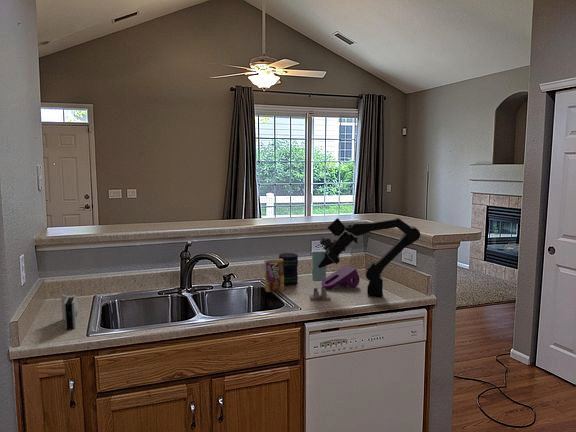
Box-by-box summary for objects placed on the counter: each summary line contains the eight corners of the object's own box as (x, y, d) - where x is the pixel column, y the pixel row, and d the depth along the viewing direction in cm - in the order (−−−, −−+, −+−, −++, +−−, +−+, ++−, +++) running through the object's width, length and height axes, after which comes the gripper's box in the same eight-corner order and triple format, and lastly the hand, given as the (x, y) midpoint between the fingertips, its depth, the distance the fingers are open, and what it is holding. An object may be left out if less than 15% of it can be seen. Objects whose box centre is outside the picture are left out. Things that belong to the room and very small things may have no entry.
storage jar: (287, 287, 220) (287, 257, 218) (274, 283, 227) (274, 254, 225) (301, 283, 226) (302, 255, 224) (289, 279, 234) (289, 252, 232)
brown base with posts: (328, 296, 205) (329, 287, 205) (330, 300, 199) (330, 292, 198) (309, 296, 205) (309, 288, 204) (310, 300, 199) (310, 292, 198)
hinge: (62, 319, 174) (60, 294, 173) (77, 317, 177) (76, 292, 176) (65, 330, 163) (64, 304, 161) (81, 328, 165) (80, 302, 164)
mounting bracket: (333, 302, 215) (361, 282, 221) (327, 288, 213) (356, 268, 219) (324, 296, 224) (351, 278, 230) (317, 283, 221) (345, 264, 227)
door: (325, 279, 209) (325, 250, 207) (325, 281, 206) (326, 251, 204) (311, 279, 209) (312, 250, 207) (312, 281, 206) (312, 251, 204)
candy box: (282, 288, 217) (282, 258, 216) (284, 291, 213) (284, 260, 211) (264, 289, 215) (264, 259, 213) (266, 292, 211) (266, 261, 209)
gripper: (327, 228, 214) (305, 250, 215) (332, 234, 195) (307, 259, 197) (343, 244, 215) (321, 266, 216) (350, 251, 197) (325, 276, 198)
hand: (318, 266), depth 207 cm, fingers closed on door, 3 cm apart
